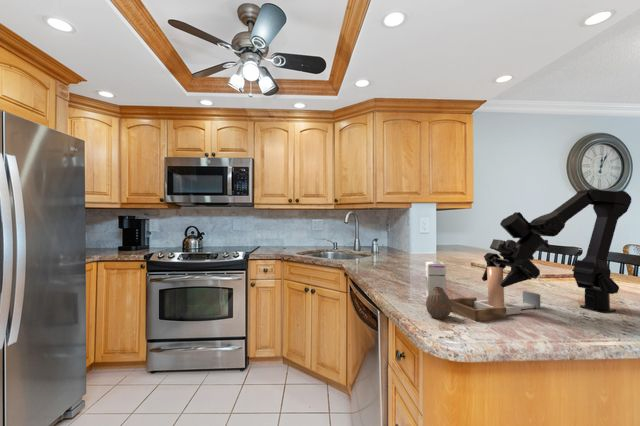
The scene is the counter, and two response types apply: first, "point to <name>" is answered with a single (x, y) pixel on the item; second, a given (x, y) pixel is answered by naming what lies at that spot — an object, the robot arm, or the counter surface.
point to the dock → (476, 310)
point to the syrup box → (435, 276)
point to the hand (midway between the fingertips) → (491, 283)
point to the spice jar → (495, 286)
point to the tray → (528, 302)
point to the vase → (438, 303)
